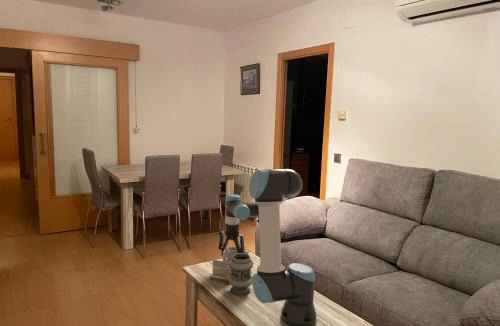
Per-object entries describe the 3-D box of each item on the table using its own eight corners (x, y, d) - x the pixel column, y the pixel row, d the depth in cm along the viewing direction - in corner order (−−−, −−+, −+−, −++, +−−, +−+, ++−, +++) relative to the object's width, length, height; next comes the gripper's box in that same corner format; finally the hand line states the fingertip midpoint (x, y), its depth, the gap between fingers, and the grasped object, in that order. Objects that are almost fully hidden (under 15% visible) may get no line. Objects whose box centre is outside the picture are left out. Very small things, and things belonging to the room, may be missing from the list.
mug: (242, 265, 197) (243, 244, 196) (228, 272, 188) (228, 250, 186) (231, 261, 202) (232, 241, 200) (217, 268, 193) (218, 246, 191)
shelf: (230, 284, 181) (231, 266, 180) (209, 279, 185) (210, 262, 184) (249, 265, 205) (250, 249, 204) (230, 261, 209) (231, 245, 208)
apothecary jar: (223, 289, 176) (224, 254, 173) (242, 282, 183) (243, 249, 181) (237, 299, 166) (239, 263, 164) (257, 292, 174) (259, 257, 172)
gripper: (252, 223, 191) (250, 264, 194) (218, 218, 199) (217, 257, 202) (247, 227, 184) (245, 269, 187) (212, 222, 192) (211, 262, 195)
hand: (231, 263), depth 194 cm, fingers closed on mug, 7 cm apart
